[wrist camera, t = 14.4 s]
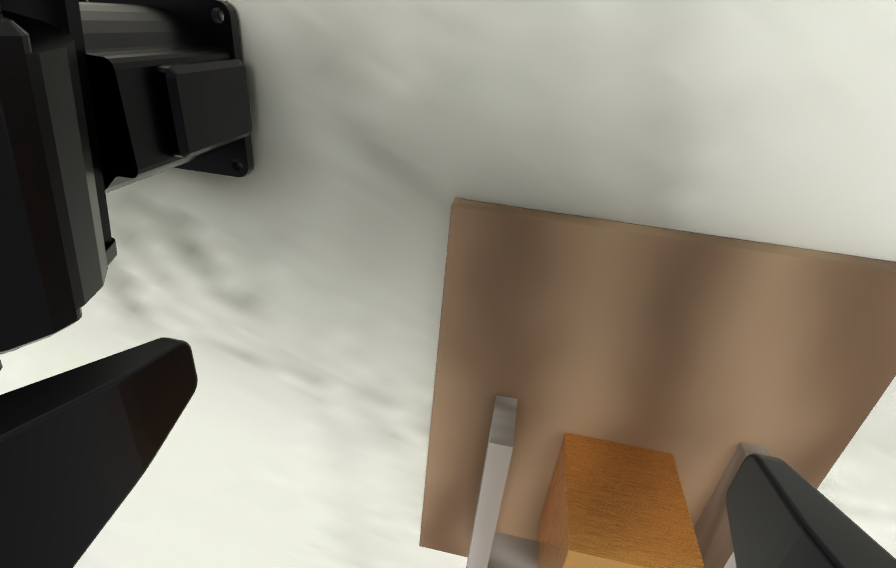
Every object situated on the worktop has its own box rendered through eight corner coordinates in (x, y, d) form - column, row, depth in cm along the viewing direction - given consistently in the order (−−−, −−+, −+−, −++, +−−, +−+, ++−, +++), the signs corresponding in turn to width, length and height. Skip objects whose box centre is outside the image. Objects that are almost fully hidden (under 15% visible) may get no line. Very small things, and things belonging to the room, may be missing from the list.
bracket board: (423, 531, 30) (406, 596, 27) (455, 198, 20) (435, 235, 16) (721, 600, 28) (745, 680, 25) (941, 268, 17) (1037, 328, 14)
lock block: (538, 523, 27) (535, 644, 21) (564, 432, 23) (568, 550, 18) (631, 544, 26) (652, 674, 21) (672, 453, 23) (709, 582, 17)
